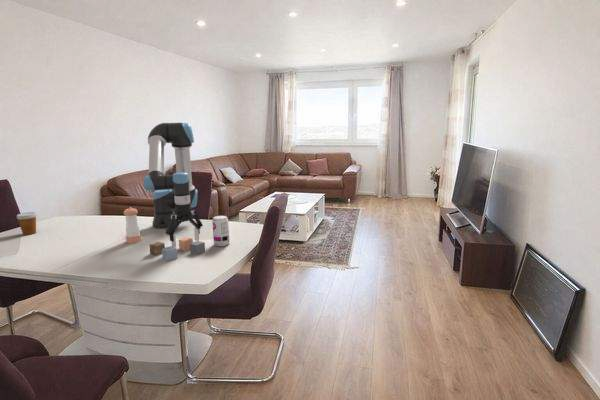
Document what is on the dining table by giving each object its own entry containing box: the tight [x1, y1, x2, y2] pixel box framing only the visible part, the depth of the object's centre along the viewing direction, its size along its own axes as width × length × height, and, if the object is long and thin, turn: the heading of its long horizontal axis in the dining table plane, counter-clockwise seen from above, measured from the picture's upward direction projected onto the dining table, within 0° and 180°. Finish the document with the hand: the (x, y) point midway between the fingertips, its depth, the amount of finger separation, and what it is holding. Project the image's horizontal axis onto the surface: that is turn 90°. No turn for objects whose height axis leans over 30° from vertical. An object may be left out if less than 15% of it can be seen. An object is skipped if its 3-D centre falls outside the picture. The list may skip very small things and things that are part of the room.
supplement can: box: [211, 215, 230, 247], centre depth 186 cm, size 8×8×15 cm
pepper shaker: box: [123, 206, 142, 244], centre depth 192 cm, size 7×7×19 cm
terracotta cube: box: [178, 236, 194, 252], centre depth 182 cm, size 5×5×5 cm
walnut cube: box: [148, 241, 166, 257], centre depth 175 cm, size 5×5×5 cm
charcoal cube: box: [189, 240, 206, 256], centre depth 175 cm, size 5×5×5 cm
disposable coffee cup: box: [16, 211, 37, 236], centre depth 208 cm, size 10×10×12 cm
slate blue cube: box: [161, 245, 178, 262], centre depth 168 cm, size 5×5×5 cm
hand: (185, 243), depth 181 cm, fingers open, 13 cm apart
